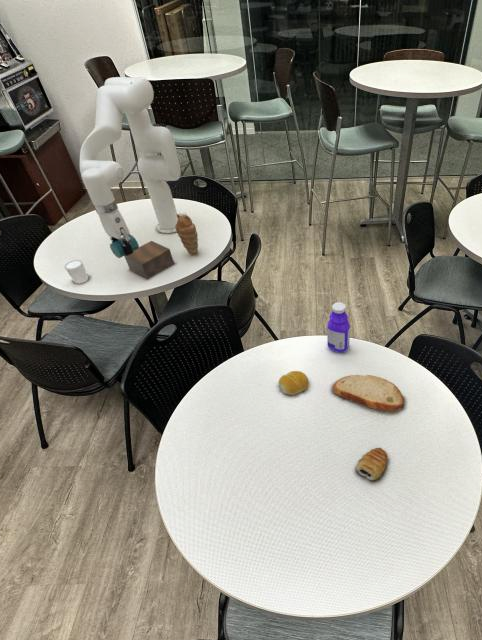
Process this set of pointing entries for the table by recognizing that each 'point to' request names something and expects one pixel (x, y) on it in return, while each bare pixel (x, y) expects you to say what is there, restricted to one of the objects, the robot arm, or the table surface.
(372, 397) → the bread slice
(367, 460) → the pastry
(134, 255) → the stand
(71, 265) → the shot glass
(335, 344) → the bottle
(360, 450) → the table surface
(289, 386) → the bread roll
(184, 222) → the brown ridged oblong lump
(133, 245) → the drinking cup
